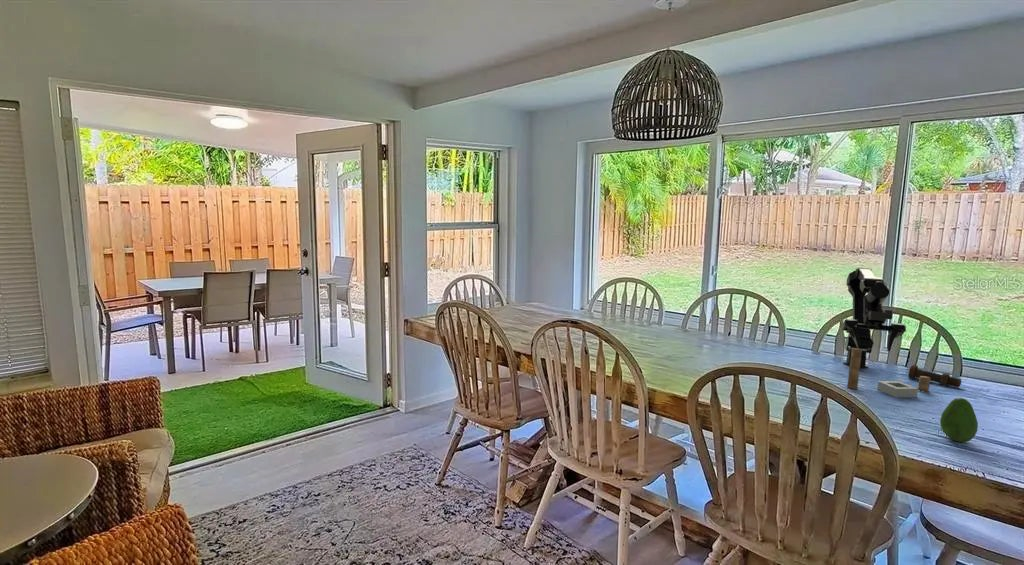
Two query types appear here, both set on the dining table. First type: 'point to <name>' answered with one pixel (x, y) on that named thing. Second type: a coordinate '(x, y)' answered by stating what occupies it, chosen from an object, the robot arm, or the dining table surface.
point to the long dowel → (854, 368)
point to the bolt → (934, 376)
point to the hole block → (897, 389)
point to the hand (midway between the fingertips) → (873, 349)
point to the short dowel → (924, 383)
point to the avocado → (959, 420)
